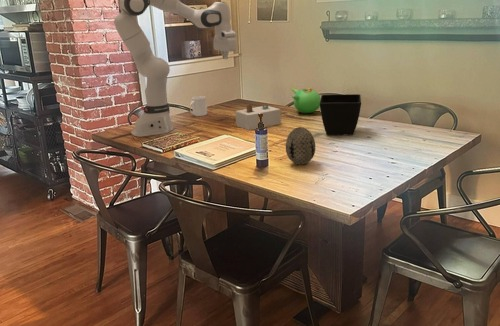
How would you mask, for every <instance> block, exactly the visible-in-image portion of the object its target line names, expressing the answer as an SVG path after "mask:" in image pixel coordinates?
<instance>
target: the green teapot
mask: <svg viewBox="0 0 500 326" xmlns="http://www.w3.org/2000/svg"><path fill="white" fill-rule="evenodd" d="M291 91H292V92H293V93H294V95H292V99H293V105H294V108H295V110H297V112H300V113H302V114H311V113H314V112H317V110H319V109H320V100H321V95H320V94H319V93H318V92H317V91H316V90H315V89H313V87H308V88H303V89H300V90H299V89H296V88H294V87H292V88H291Z"/></svg>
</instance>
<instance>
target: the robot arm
mask: <svg viewBox="0 0 500 326" xmlns="http://www.w3.org/2000/svg"><path fill="white" fill-rule="evenodd" d="M117 3H118V13H119V14H117V15H116V16H115V18H114V20H113V25H114V27H115V28H116V31H117V33H118V35H119V37H120V38H121V41H122V42H123V44H124V45H125V47H126V48H127V51H129V53H130V54H131V57H132V58H133V61H134V63H135V66H136V70H137V72H138V73H139V74H140V75H141V76H142V77H144V78H146V87H145V89H144V94H145V102H146V105H145V106H144V105H141V106H140V109H141V111H143V113H142V115H140V116H139V117H138V118H137V120H135V123H134V129H133V130H131V132H130V133H131V135H132V136H134V137H138V138H139V137H141V138H143V137H149V136H156V135H164V134H168V133H169V132H172V131H173V130H174V129H175V128H174V126H173V122H172V119H171V116H170V106H169V105H170V104H169V101H168V96H167V83H168V76H169V74H170V71H171V70H170V68H171V67H170V65H169V63H168V62H167V61H166V60H164V59H163V58H161V57H158V56H157V57H156V56H155V55H154V53H153V51H152V48H151V42H150V41H149V39H148V37H147V36H146V34H145V32H144V31H143V29H142V27H141V26H140V24H139V23H138V20H137V18H138V17H137V16H141V15H143V14H144V13H145V12H146V11H147V8H148V7H149V6H152V7H154V8H156V9H159V10H161V11H164V12H167V13H171V14H175V15H177V16H180V17H182V18H184V19H186V20H188V21H189V22H190V23H191V24H192V25H193V26H194V27H195V28H197V29H208V28H209V29H210V28H211V29H212V28H213V27H214V36H213V50H214V51H220V54H221V56H222V57H221V58H222V60H228V59H229V57H228V56H229V52H235V51H236V49H237V40H236V36H237V33H236V32H235V31H234V30H233V29H232V25H231V10H230V7H229V4H228V3H227V2H225V1H217V0H216V1H214V2H213V3H212V4H211V5H210V6H208V7H205V8H202V9H199V8H192V7H191V6H188V5H186V4H185V3H183V2H181V1H180V0H118V2H117Z"/></svg>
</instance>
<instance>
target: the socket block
mask: <svg viewBox="0 0 500 326" xmlns="http://www.w3.org/2000/svg"><path fill="white" fill-rule="evenodd" d="M263 106H264V105H261V106H257V107H252V112H250V113H247V108H244V109H240V110H239V109H238V110H235V111H234V114H235V116H234V118H235V125H236V127H240V128H241V129H244V130H246V131H253V130H257V129H256V128H257V125H258V123H259V117H258V114H259V113H261V114H263V117H262V122H263V123H264V125H265V127H264V128H266V127H267V128H268V127H273V126H277V125H282V114H281V108H277V107H274V106H270V105H268V109H266V110H263Z"/></svg>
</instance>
